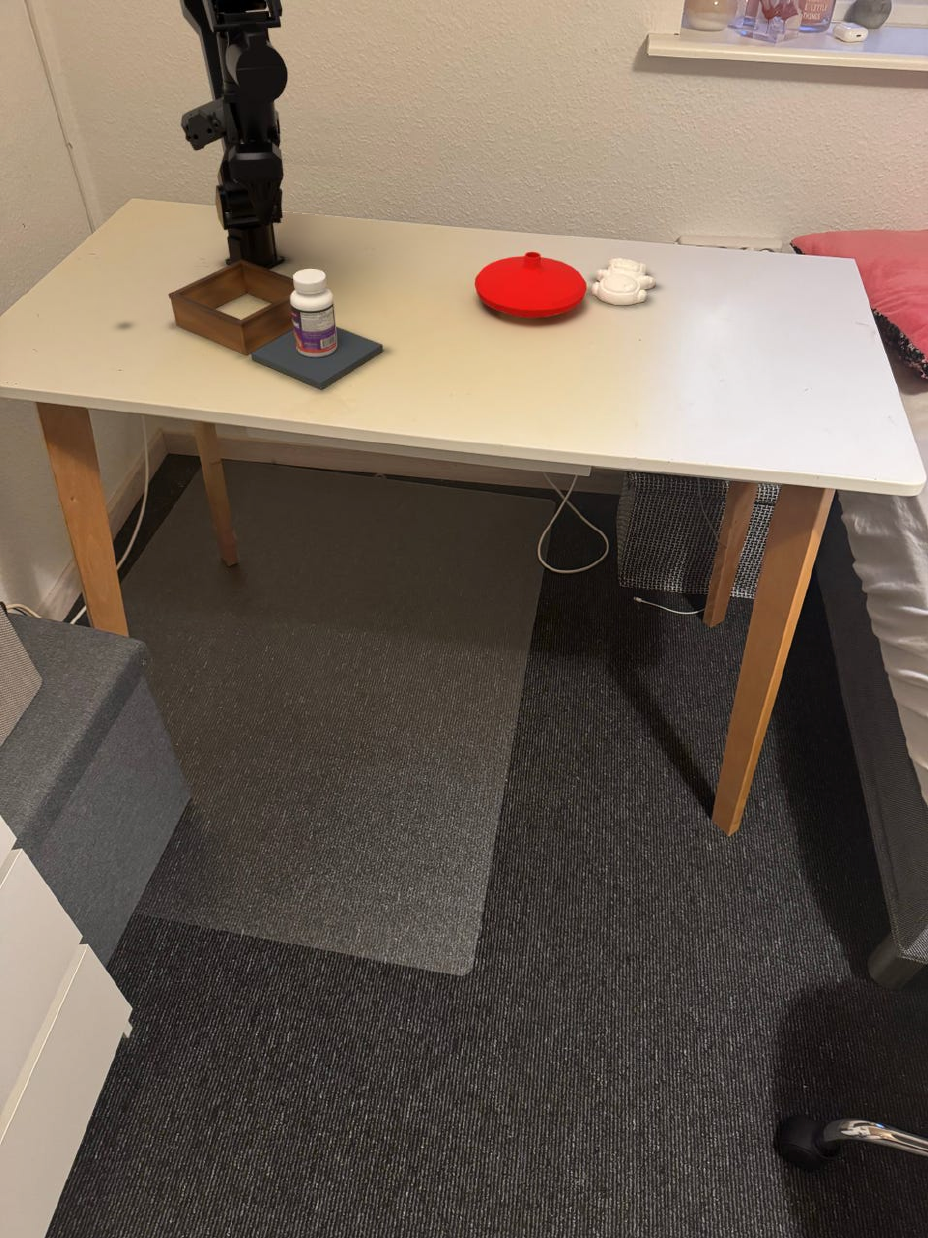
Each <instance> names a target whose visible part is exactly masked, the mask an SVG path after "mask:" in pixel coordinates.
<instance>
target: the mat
mask: <svg viewBox="0 0 928 1238" xmlns="http://www.w3.org/2000/svg"><path fill="white" fill-rule="evenodd" d="M336 333H337V348H336V350H335V351H334V352H333V353H332V354H330V355H327V356H324V357H307V356H304V355H302V354H300V353H299V352H298V351H297V349H296V344H295V337H294V329H292V330H290V331H289V332H287V333H285V334H283V335H282V336H280V337H278V338H276V339H274V340H273V341H271V342H269V343H267V344H265V345H264V346H262V347H260V348H258V349H256V350H255V351H253V352H251V353H250V355H251V361H253V362H256V363H258V364H260V365H263V366H264V367H267V368H270V369H272V370H275V371H277V372H279V373H281V374H284V375H286V376H289V377H291V378H292V379H293V378H294V379H296V380H298V381H300V382H303V383H305V384H307V385H309V386H312V387H314V388H316V389H318V390H321V391H322V390H324V389H326V388H327V387H329V386H330V385H332V384H333V383H335V382H337V381H339V380H340V379H341V378H343V377H345V376H346V375H347V374H349V373H351V372H352V371H355V370H356V369H357V368H359V367H360V366H362V365H364V364H365V363H367V362H368V361H370V360H372V359H373V358H375V357H376V356H378V355H379V354H381V353H383V352H384V347H383V344H382V343H380V342H377V341H375V340H372V339H369V338H366V337H364V336H361V335H359V334H356V333H354V332H351V331H349V330H346V329H344V328H341V327H338V326H336Z"/></svg>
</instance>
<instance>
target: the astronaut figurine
mask: <svg viewBox="0 0 928 1238" xmlns="http://www.w3.org/2000/svg"><path fill="white" fill-rule="evenodd" d="M647 271H648V270H647V265H646V264H645V263H642V262H640V263H639V262H637V261H635V260H633V259H628V258H622V257H615V258H612V259H610V260H609V261H608V266H607V269H606V268H604V269H602V268H601V269H598V270H596V272H595V278H596V280H597V281H595V282H594V283H593V284H592V285H591V295H593V296H595V297H597V299H599V300H600V301H602V302H604V303H607V304H610V305H613V306H614V305H615V306H631V305H635V304H637V303H638V304H640V303H643V302H645V301H646V298H647V291H646V290H650V289H653V288H654V287H655V285H656V281H657V280H656V278H654V277H653V276H649V275H646V274H647Z"/></svg>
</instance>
